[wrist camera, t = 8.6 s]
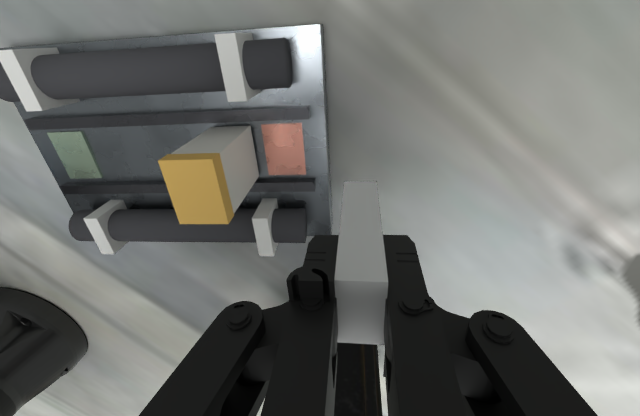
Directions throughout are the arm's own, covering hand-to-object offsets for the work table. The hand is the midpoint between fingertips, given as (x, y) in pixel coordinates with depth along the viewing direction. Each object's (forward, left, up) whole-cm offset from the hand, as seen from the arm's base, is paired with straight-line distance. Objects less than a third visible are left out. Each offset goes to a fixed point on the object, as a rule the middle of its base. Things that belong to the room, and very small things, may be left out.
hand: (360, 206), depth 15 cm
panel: (-14, 0, -11) cm, 18 cm away
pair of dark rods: (-14, 0, -9) cm, 17 cm away
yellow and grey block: (-9, 0, -9) cm, 13 cm away
